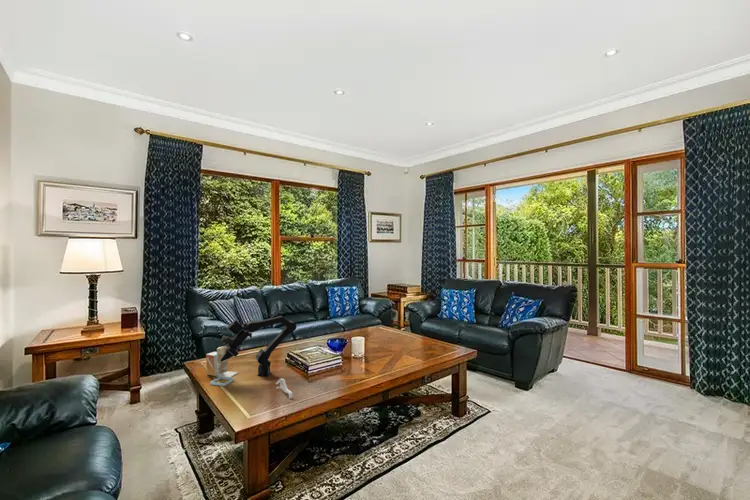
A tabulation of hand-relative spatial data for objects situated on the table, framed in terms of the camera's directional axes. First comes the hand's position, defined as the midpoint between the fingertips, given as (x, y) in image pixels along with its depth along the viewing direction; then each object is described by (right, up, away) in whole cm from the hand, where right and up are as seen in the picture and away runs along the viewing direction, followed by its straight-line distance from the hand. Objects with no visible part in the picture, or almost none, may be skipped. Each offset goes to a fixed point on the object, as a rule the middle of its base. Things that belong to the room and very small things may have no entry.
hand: (220, 359), depth 211 cm
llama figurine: (+42, -15, -14) cm, 46 cm away
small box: (-8, -13, +13) cm, 20 cm away
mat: (-1, -13, +12) cm, 18 cm away
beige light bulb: (+1, -7, +1) cm, 7 cm away
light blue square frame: (+1, -13, 0) cm, 14 cm away
